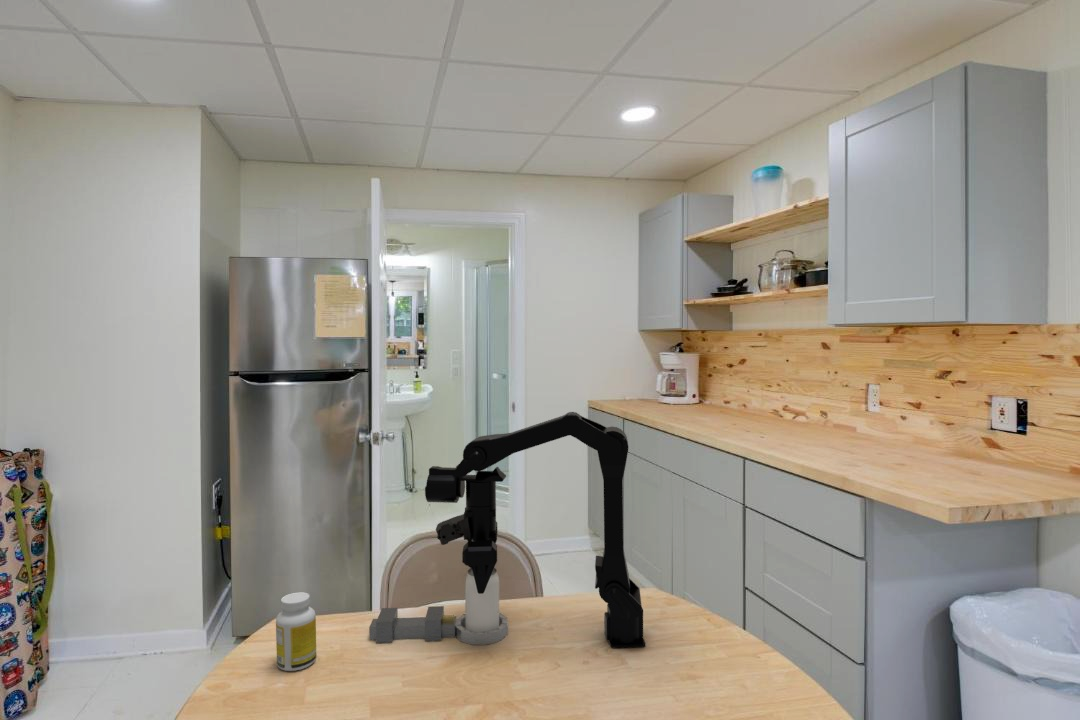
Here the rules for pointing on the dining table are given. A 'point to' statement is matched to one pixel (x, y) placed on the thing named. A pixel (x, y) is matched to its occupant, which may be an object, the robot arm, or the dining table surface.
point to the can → (482, 604)
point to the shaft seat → (431, 628)
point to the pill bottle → (296, 632)
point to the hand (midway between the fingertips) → (481, 583)
